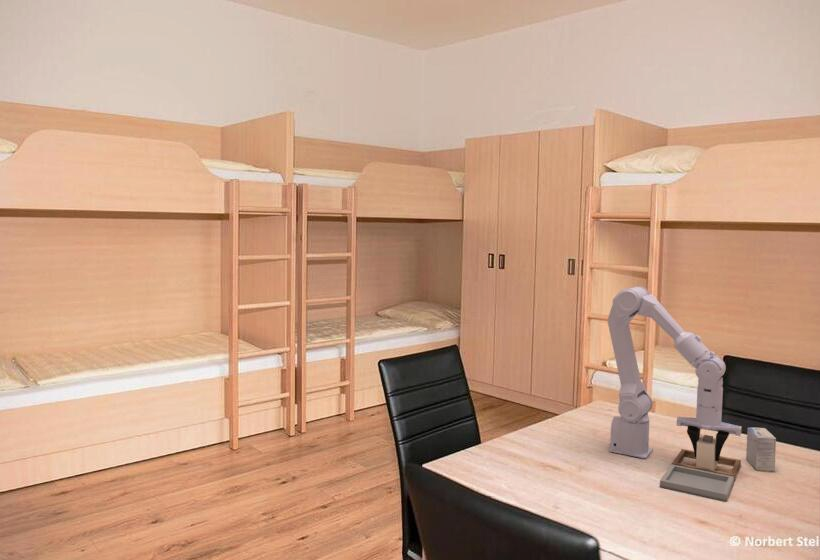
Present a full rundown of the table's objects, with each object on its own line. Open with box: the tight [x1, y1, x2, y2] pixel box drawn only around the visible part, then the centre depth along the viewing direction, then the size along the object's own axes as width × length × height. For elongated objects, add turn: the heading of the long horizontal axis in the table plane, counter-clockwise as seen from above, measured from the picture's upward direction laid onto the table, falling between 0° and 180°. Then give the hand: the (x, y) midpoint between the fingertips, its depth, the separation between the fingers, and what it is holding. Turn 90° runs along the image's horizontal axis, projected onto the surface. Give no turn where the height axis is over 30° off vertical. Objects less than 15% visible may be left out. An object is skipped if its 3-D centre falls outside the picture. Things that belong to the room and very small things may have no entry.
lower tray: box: [659, 463, 735, 502], centre depth 149 cm, size 14×12×2 cm
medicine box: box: [745, 427, 777, 472], centre depth 161 cm, size 8×4×9 cm, turn 168°
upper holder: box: [671, 448, 742, 483], centre depth 160 cm, size 14×12×2 cm
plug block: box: [695, 434, 718, 470], centre depth 160 cm, size 4×6×8 cm, turn 146°
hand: (706, 458), depth 160 cm, fingers closed on plug block, 4 cm apart
